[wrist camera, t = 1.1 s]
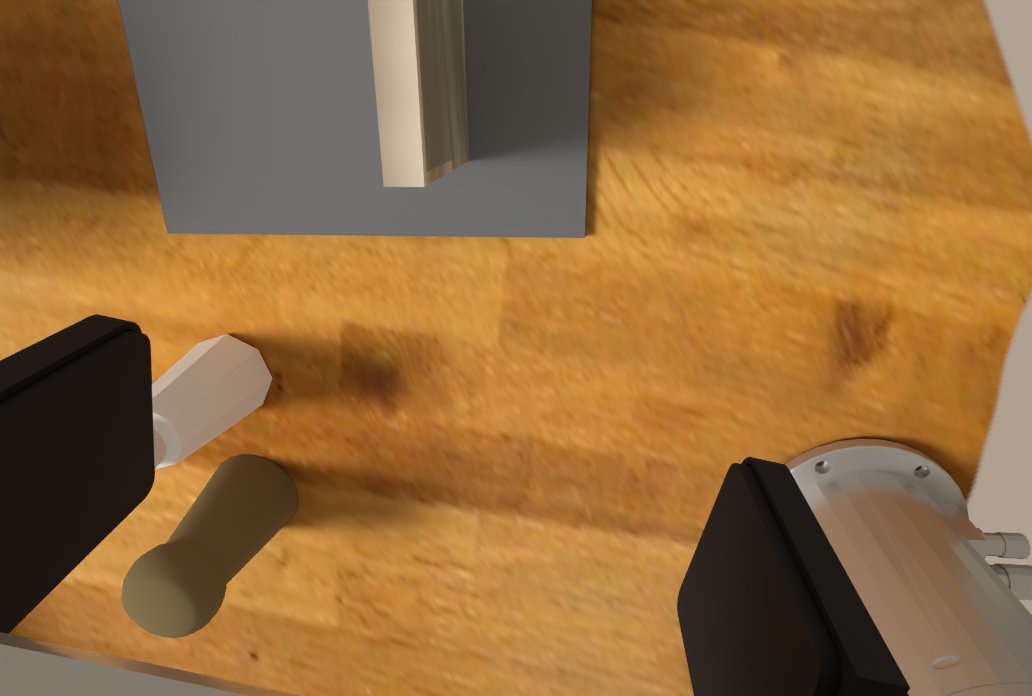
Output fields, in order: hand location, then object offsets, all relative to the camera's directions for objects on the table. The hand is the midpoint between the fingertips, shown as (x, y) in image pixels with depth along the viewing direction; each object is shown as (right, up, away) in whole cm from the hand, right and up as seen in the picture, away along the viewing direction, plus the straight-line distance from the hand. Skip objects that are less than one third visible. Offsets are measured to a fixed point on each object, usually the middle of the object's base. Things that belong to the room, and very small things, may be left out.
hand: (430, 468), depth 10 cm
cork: (-17, -8, +34) cm, 38 cm away
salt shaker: (-17, 0, +30) cm, 35 cm away
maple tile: (-2, +16, +22) cm, 27 cm away
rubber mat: (-7, +16, +23) cm, 29 cm away
